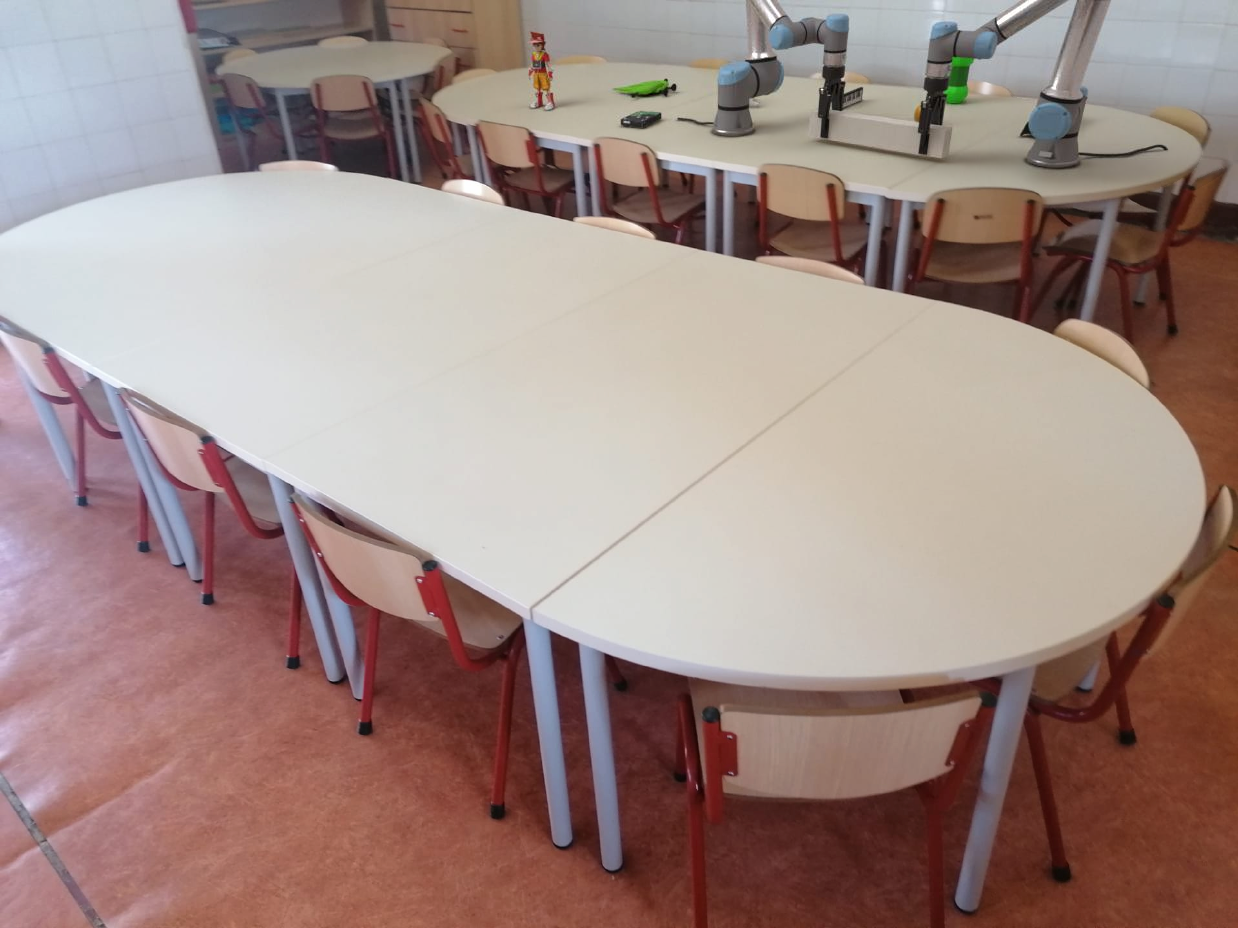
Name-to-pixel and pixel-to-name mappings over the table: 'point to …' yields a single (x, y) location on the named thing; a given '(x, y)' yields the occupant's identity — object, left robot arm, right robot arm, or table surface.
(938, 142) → the bar
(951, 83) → the plastic bottle
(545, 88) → the toy
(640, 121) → the disk drive
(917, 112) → the fruit
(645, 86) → the toy
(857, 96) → the midi keyboard
